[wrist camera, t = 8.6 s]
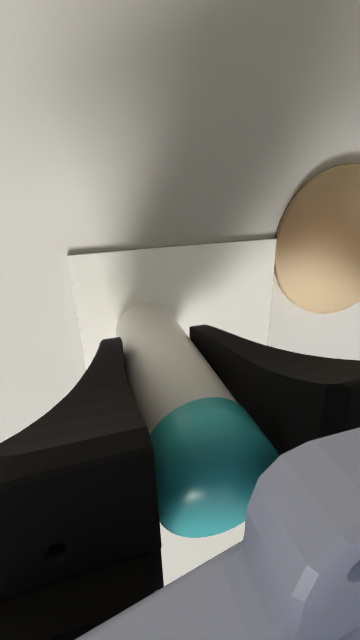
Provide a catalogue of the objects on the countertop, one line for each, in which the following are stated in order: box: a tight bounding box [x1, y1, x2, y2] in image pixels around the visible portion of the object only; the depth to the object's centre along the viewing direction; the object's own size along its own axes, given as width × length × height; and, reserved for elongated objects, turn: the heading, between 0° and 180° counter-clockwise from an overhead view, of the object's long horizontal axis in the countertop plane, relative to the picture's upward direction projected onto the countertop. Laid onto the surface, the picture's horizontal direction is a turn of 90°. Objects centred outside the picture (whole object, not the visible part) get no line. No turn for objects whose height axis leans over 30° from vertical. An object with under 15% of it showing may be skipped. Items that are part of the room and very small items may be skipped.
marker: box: [116, 302, 279, 538], centre depth 10 cm, size 3×3×8 cm
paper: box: [67, 239, 277, 370], centre depth 15 cm, size 12×9×1 cm
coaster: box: [274, 163, 360, 314], centre depth 15 cm, size 7×7×1 cm
